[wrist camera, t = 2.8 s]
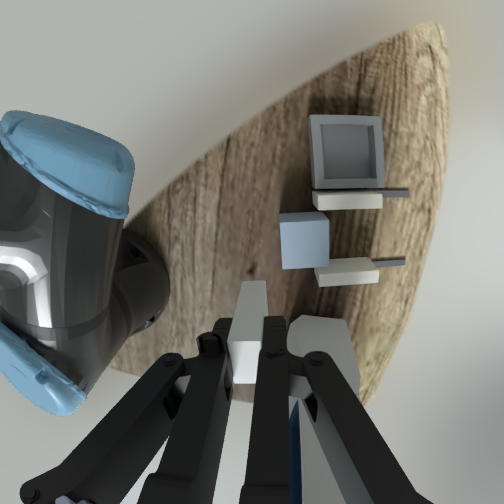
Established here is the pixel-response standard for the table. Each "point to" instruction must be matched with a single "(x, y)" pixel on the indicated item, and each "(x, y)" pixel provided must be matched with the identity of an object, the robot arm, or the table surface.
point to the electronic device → (300, 428)
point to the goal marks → (391, 194)
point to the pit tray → (346, 151)
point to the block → (304, 240)
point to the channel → (347, 268)
